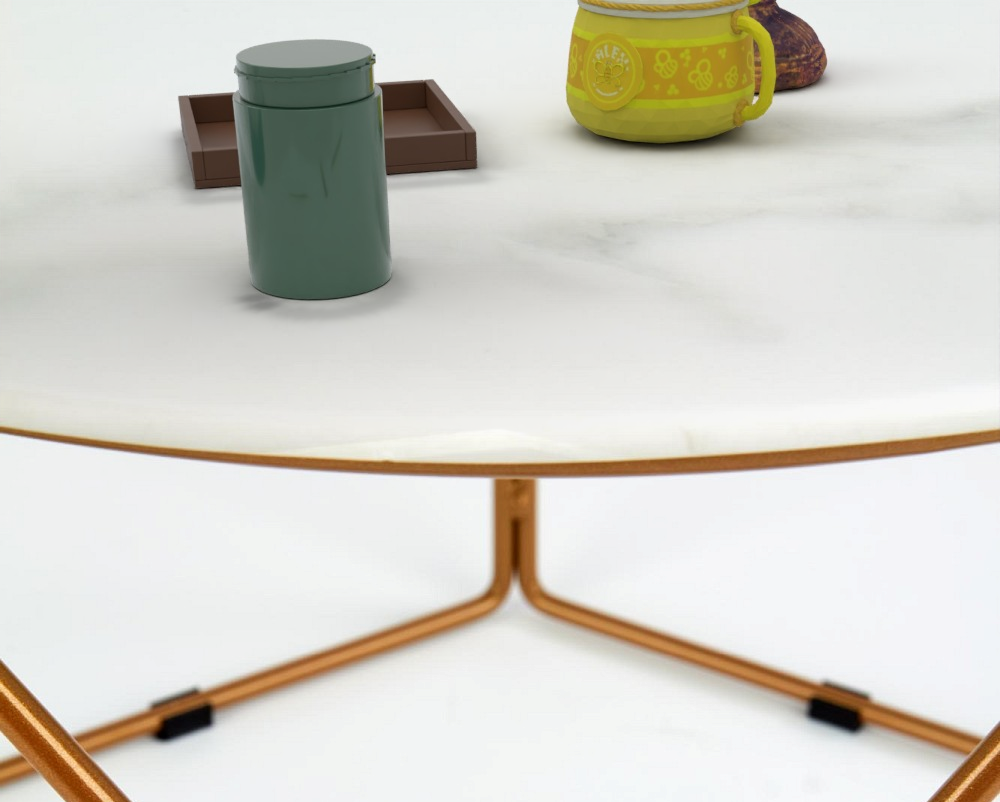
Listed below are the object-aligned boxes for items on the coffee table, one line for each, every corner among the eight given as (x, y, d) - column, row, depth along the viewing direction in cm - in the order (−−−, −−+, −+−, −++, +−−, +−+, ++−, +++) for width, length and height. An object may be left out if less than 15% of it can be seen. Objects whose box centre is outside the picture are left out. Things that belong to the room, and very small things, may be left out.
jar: (392, 297, 75) (379, 66, 70) (246, 302, 75) (222, 71, 70) (391, 252, 81) (380, 35, 75) (255, 257, 80) (234, 40, 75)
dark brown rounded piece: (782, 103, 104) (791, -27, 100) (608, 83, 109) (610, -42, 105) (855, 66, 112) (866, -56, 108) (690, 48, 117) (695, -68, 113)
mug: (526, 135, 98) (524, -96, 92) (632, 98, 106) (638, -119, 99) (718, 169, 92) (730, -78, 85) (817, 126, 99) (836, -104, 92)
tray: (195, 188, 90) (191, 151, 89) (181, 129, 101) (177, 95, 100) (477, 167, 93) (476, 131, 92) (434, 111, 104) (433, 78, 103)
